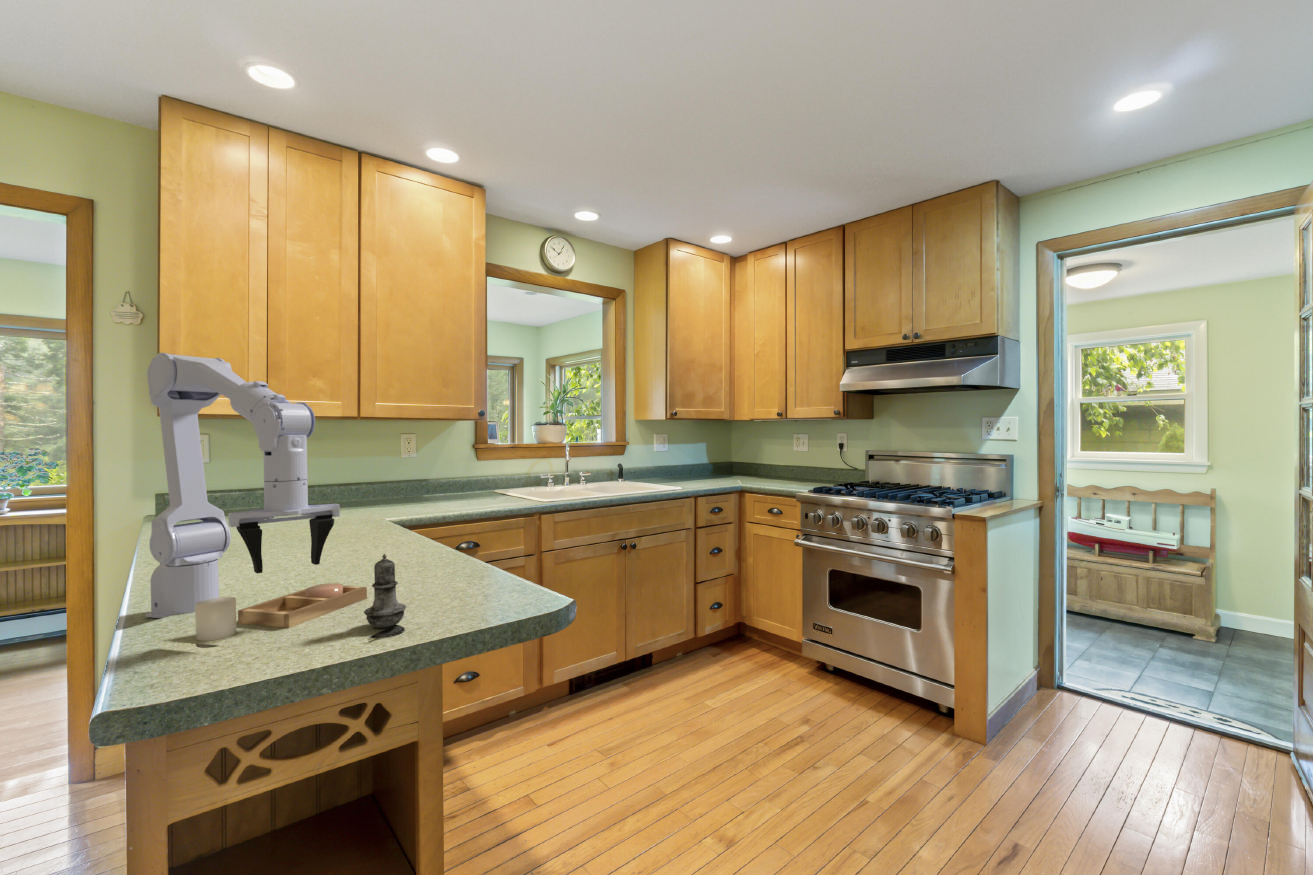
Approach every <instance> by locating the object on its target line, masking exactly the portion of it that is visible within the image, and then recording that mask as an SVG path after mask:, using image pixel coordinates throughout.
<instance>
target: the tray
mask: <svg viewBox="0 0 1313 875" xmlns="http://www.w3.org/2000/svg"><path fill="white" fill-rule="evenodd" d="M367 588H368V587H367V586H357V585H356V586H355V585H343V594H340V595H337V596H334V597H331V598H329V599H328V598H314V597H306V589H307V588H305V589H301V590H298V591H295V592H292V593H287V594H285V595H283V596H279V597H276V598H273V599H269V600H266V601H263V602H259V603H257V604H253V605H250V606H247V607H244V608H240V609H237V624H240V625H251V626H261V627H262V626H264V627H266V626H267V627H274V628H286V629H291V628H293V627H296V626H298V625H301V624H304V623H307V622H309V621H311V620H314V619H317V618H320V617H323V616H324V615H328V614H330V613H333V612H335V611H338V610H340V609H341V610H342V609H343V608H346V607H348V606H352V605H354V604H356V603H359V602H362V601H364V600H366V599H367V600H368V589H367Z"/></svg>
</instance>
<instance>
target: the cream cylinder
mask: <svg viewBox="0 0 1313 875" xmlns="http://www.w3.org/2000/svg"><path fill="white" fill-rule="evenodd" d="M236 598H237V597H235V596H219V597H218V598H212V599H207V600H203V601H200V602H197V603H196V604H195V612H194V614H195V615H194V617H195V640H196V641H199V642H209V641H217V640H221V639H225V638H228V637H232V636H234V635H235V634H236V633H238V632H237V630H238V629H237V628H238V627H237V599H236ZM195 646H196V647H197V648H201V649H206V648H207V649H208V648H209V649H210V648H216V647H220V645H219V644H218V645H217V644H209V643H195Z"/></svg>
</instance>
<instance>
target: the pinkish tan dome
mask: <svg viewBox="0 0 1313 875" xmlns="http://www.w3.org/2000/svg"><path fill="white" fill-rule="evenodd" d="M343 586H344V585H343V583H336V582H335V583H334V582H332V583H331V582H328V583H321V584H316V585H311V586H310V587H307V588H305V589H306V597H314V598H328V599H329V598H331V597H334V596H337V595H340V594H343Z"/></svg>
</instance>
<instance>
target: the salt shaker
mask: <svg viewBox="0 0 1313 875" xmlns="http://www.w3.org/2000/svg"><path fill="white" fill-rule="evenodd" d="M381 557H382V558H381V559H380V560H378V561H377V562H375V564H374V566H373V569H374V570H373V572H374V574H373V575H374V583H372V584H371V587H372V588H373V592H374V594H373V595H374V598H373V603H372V605H371V606H370V607H368V608H366V609H365V610H364V611H363V614H364V615H366V620H367V622H368V624H369V625H370V626H372V627H374V628H378V629H383V630H381V631H379V632H376V633H375V634H371V635H370V636H368V638H370V639H387V638H392V637H395V636H399V635H401V634H402V633H404V632H405V629H406V628H405V627H404V626H401V625H400V624H399V623H400V621H401V620H403V617H404V616H405V610H406V609H407V605H406V604H404V603H399V602H398V599H397V591H396V590H397V585H398V584H399V583H398V581H396V565H395V562H394V561H393V560H391V559H388V558H387V557H388V556H387V555H386V553H383V554H382V556H381ZM401 622H402V621H401Z"/></svg>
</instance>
